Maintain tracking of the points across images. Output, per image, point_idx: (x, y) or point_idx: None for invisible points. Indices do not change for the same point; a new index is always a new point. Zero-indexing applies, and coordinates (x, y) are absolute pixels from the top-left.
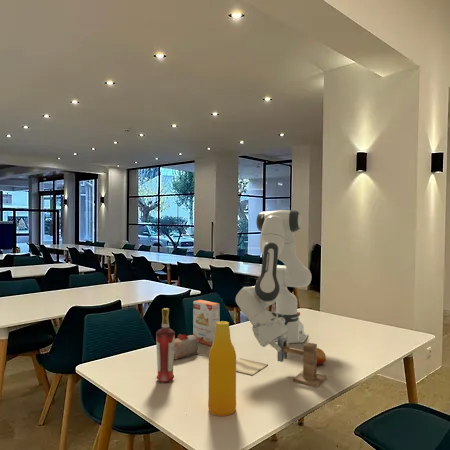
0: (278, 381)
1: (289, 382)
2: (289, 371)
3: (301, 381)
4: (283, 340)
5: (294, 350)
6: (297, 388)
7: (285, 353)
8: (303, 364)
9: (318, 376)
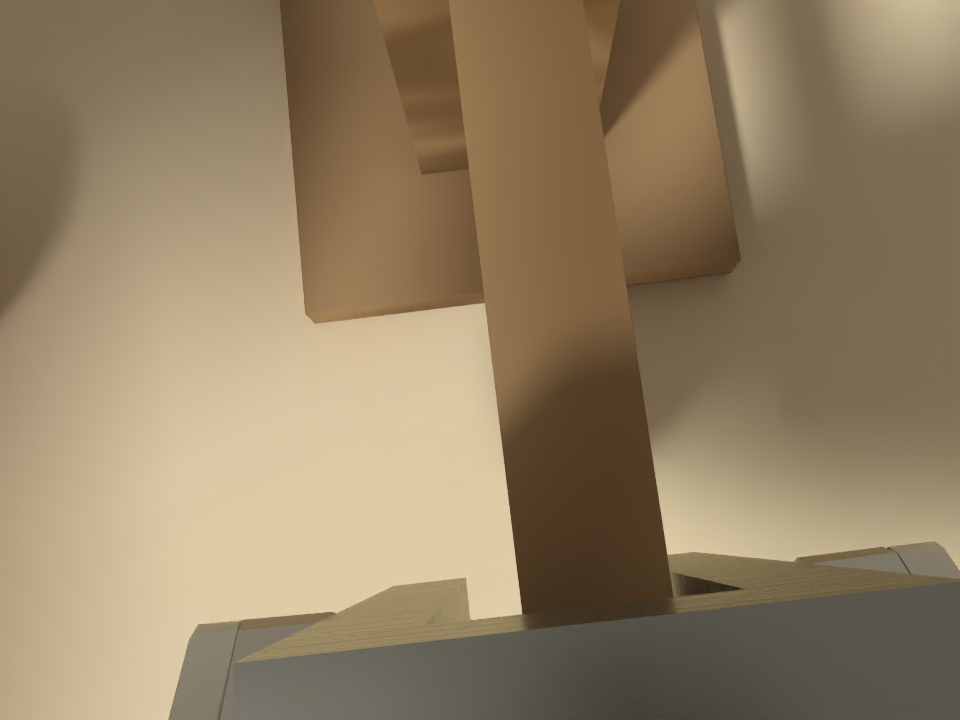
0: (907, 450)
1: (809, 291)
2: (390, 542)
3: (710, 123)
4: (741, 597)
5: (600, 166)
6: (914, 87)
7: (460, 601)
8: (615, 23)
9: (374, 4)
